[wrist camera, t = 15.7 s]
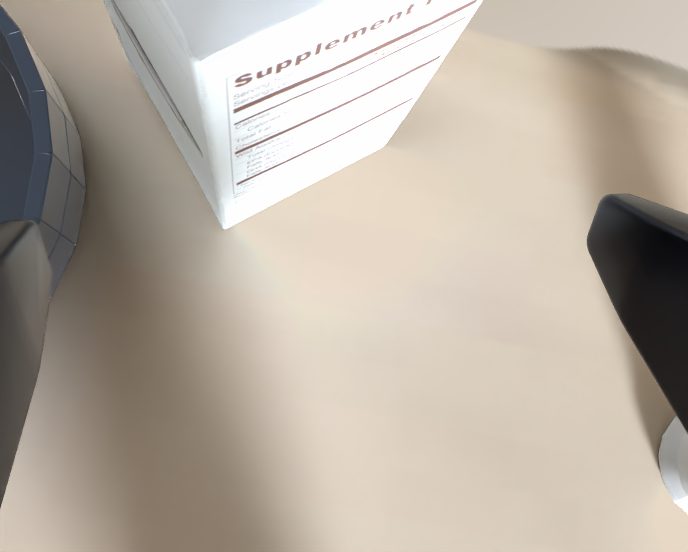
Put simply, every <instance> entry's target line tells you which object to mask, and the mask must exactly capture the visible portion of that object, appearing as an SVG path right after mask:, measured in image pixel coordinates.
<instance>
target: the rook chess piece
mask: <svg viewBox="0 0 688 552" xmlns="http://www.w3.org/2000/svg"><path fill="white" fill-rule="evenodd" d="M658 458H659V464H660V471H661V476H662V480H663V482H664V484H665V486H666V488H667V490H668V491H669V493H670V495H671V497H672V499H673V501H674V502H675V503H676V504H677V505H678V506H680V507H681V508H682V509H683V510H684V511H685V512H686V513H688V434H687V432H686V431H685V429H684V427H683V425H682V424H681V422H680V420H679V419H678V417H677V415H676V416H675V417H674V419H673V420H672V422H671V424H670V425H669V427H668V428H667V430H666V431H665V433H664V434H663V436H662V439H661V444H660V449H659V454H658Z"/></svg>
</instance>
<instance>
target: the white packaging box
mask: <svg viewBox="0 0 688 552" xmlns="http://www.w3.org/2000/svg"><path fill="white" fill-rule="evenodd" d="M482 1H483V0H104V2H105V5H106V7H107V10H108V12H109V15H110V18H111V20H112V23H113V25H114V28H115V31H116V33H117V35H118V38H119V40H120V43H121V46H122V48H123V50H124V53H125V55H126V58H127V60H128V63H129V65H130V67H131V69H132V70H133V72H134V73H135V75H136V76H137V78H138V79H139V81H140V83H141V84H142V86H143V87H144V89H145V90H146V92H147V94H148V95H149V97H150V98H151V100H152V102H153V103H154V105H155V107H156V109H157V110H158V112H159V114H160V116H161V118H162V119H163V121H164V123H165V125H166V127H167V128H168V130H169V132H170V134H171V135H172V137H173V139H174V141H175V143H176V144H177V146H178V148H179V150H180V152H181V153H182V155H183V157H184V159H185V160H186V162H187V164H188V166H189V167H190V169H191V171H192V173H193V174H194V176H195V178H196V180H197V181H198V183H199V185H200V187H201V189H202V191H203V192H204V194H205V196H206V198H207V200H208V202H209V204H210V205H211V207H212V209H213V211H214V213H215V215H216V217H217V219H218V221H219V223H220V225H221V227H222V228H223V229H227V228H229V227H231V226H233V225H234V224H236V223H238V222H240V221H242V220H244V219H246V218H247V217H249V216H251V215H253V214H255V213H257V212H259V211H261V210H263V209H264V208H266V207H268V206H270V205H272V204H274V203H276V202H278V201H280V200H282V199H284V198H286V197H287V196H289V195H291V194H293V193H295V192H297V191H299V190H301V189H303V188H305V187H307V186H309V185H311V184H312V183H314V182H316V181H318V180H320V179H322V178H324V177H326V176H328V175H330V174H332V173H334V172H336V171H337V170H340V169H342V168H343V167H345V166H347V165H349V164H351V163H353V162H355V161H357V160H359V159H361V158H362V157H364V156H366V155H368V154H370V153H372V152H374V151H376V150H378V149H380V148H382V147H383V146H385V145H386V143H387V142H388V140H389V139H390V137H391V136H392V135H393V133H394V132H395V130H396V129H397V127H398V126H399V124H400V123H401V122H402V120H403V119H404V118H405V117H406V115H407V113H408V112H409V110H410V109H411V107H412V106H413V104H414V103H415V101H416V100H417V98H418V97H419V96H420V94H421V93H422V91H423V90H424V88H425V87H426V85H427V83H428V82H429V80H430V79H431V77H432V76H433V75H434V73H435V72H436V70H437V69H438V67H439V66H440V64H441V63H442V61H443V60H444V58H445V56H446V55H447V53H448V52H449V51H450V49H451V48H452V46H453V45H454V43H455V42H456V40H457V39H458V37H459V36H460V34H461V33H462V31H463V30H464V28H465V27H466V25H467V24H468V22H469V20H470V19H471V18H472V16H473V15H474V13H475V11H476V10H477V8H478V7H479V5H480V4H481V2H482Z"/></svg>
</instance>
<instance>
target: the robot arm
mask: <svg viewBox="0 0 688 552" xmlns="http://www.w3.org/2000/svg"><path fill="white" fill-rule="evenodd" d="M587 247H588V251H589V253H590V255H591V257H592V260H593V262H594V264H595V266H596V268H597V271H598V273H599V275H600V277H601V280H602V282H603V284H604V286H605V288H606V291H607V293H608V295H609V297H610V299H611V302H612V304H613V306H614V308H615V310H616V312H617V314H618V316H619V318H620V320H621V322H622V324H623V326H624V327H625V329H626V331H627V333H628V334H629V336H630V338H631V339H632V341H633V343H634V344H635V346H636V348H637V350H638V351H639V353H640V355H641V356H642V358H643V360H644V361H645V363H646V365H647V366H648V368H649V370H650V371H651V373H652V375H653V377H654V378H655V380H656V382H657V383H658V385H659V387H660V388H661V390H662V392H663V393H664V395H665V397H666V398H667V400H668V402H669V404H670V405H671V407H672V409H673V410H674V412H675V414H676V415H677V417H678V419H679V420H680V422H681V424H682V425H683V427H684V429H685V431H686V432H687V434H688V214H685V213H682V212H679V211H676V210H674V209H671V208H668V207H665V206H662V205H659V204H657V203H654V202H651V201H648V200H645V199H643V198H640V197H637V196H634V195H631V194H610V195H606V196H605V197H603V198H602V199H601V201H600V203H599V205H598V208H597V210H596V213H595V216H594V219H593V222H592V224H591V227H590V230H589V233H588V236H587ZM51 286H52V271H51V266H50V262H49V259H48V256H47V252H46V249H45V246H44V242H43V239H42V236H41V232H40V229H39V227H38V225H37V224H36V223H35V222H34V221H32V220H11V221H3V222H1V223H0V508H1V504H2V501H3V497H4V494H5V490H6V486H7V483H8V479H9V476H10V472H11V469H12V465H13V462H14V458H15V455H16V451H17V448H18V444H19V441H20V437H21V434H22V430H23V427H24V423H25V420H26V416H27V412H28V409H29V405H30V402H31V398H32V395H33V391H34V388H35V384H36V381H37V377H38V373H39V369H40V363H41V357H42V351H43V344H44V336H45V329H46V322H47V315H48V307H49V300H50V293H51Z"/></svg>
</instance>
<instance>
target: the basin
mask: <svg viewBox="0 0 688 552" xmlns="http://www.w3.org/2000/svg"><path fill="white" fill-rule="evenodd" d="M85 190H86V183H85V175H84V166H83V158H82V149H81V140H80V136H79V133H78V130H77V128H76V125H75V123H74V121H73V118H72V116H71V114H70V111H69V109H68V107H67V104H66V102H65V100H64V97H63V95H62V93H61V90H60V88H59V86H58V85H57V83H56V82H55V80H54V79H53V77H52V76H51V74H50V73H49V71H48V70H47V68H46V67H45V65H44V64H43V62H42V61H41V59H40V58H39V56H38V55H37V53H36V52H35V50H34V49H33V47H32V46H31V44H30V43H29V41H28V40H27V39H26V37H25V36H24V34H23V33H22V31H21V30H20V28H19V27H18V26H17V25H16V23H15V22H14V21H13V20H12V18H11V17H10V16H9V15H8V13H7V12H6V11H5V10H4V8H3V7H2V6H1V5H0V223H1V222H3V221H11V220H32V221H34V222H35V223H36V224H37V225H38V227H39V229H40V232H41V236H42V239H43V242H44V246H45V249H46V252H47V256H48V259H49V262H50V266H51V271H52V286H51V293H50V297H51V296H52V295H53V293H54V291H55V289H56V287H57V284H58V282H59V280H60V278H61V276H62V274H63V272H64V270H65V268H66V266H67V263H68V261H69V259H70V257H71V255H72V253H73V251H74V249H75V244H76V243H77V239H78V234H79V228H80V222H81V216H82V210H83V204H84V199H85V193H86V191H85Z"/></svg>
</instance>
